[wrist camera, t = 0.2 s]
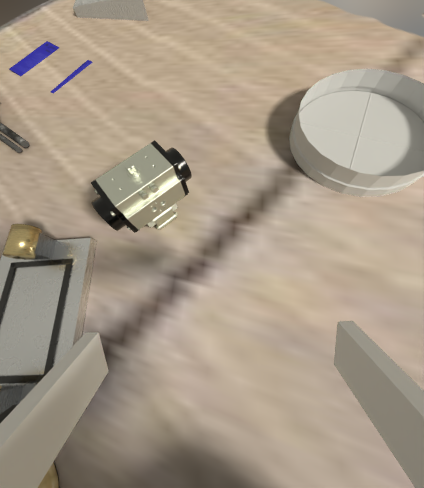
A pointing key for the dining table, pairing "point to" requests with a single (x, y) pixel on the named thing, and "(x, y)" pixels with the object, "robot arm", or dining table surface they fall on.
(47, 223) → the dining table surface
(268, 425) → the dining table surface
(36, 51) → the flat strips
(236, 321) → the dining table surface
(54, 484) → the hand bell
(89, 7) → the ramp
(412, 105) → the dish
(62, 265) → the plate
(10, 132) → the grey red jointed piece
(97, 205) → the pneumatic valve
